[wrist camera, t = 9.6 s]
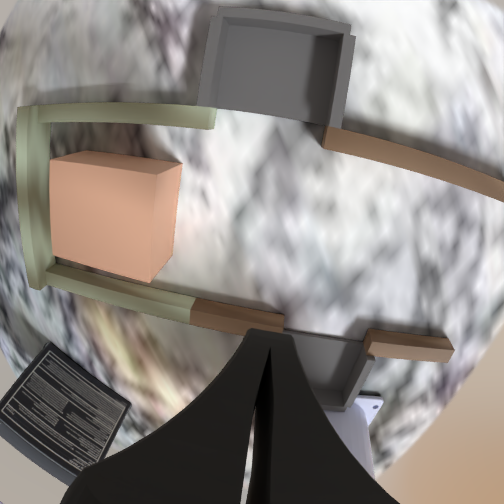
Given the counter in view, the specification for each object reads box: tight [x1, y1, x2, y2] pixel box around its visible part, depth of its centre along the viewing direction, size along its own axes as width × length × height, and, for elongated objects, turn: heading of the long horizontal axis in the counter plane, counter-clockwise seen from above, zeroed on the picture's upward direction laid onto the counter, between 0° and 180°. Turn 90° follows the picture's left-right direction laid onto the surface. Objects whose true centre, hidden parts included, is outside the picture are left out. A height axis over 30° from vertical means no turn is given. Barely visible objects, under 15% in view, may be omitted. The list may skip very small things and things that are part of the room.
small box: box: [0, 342, 132, 486], centre depth 23 cm, size 11×6×10 cm, turn 51°
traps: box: [197, 6, 375, 412], centre depth 18 cm, size 25×13×2 cm, turn 171°
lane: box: [16, 102, 504, 363], centre depth 18 cm, size 13×32×2 cm, turn 81°
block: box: [49, 150, 182, 283], centre depth 18 cm, size 6×7×4 cm
